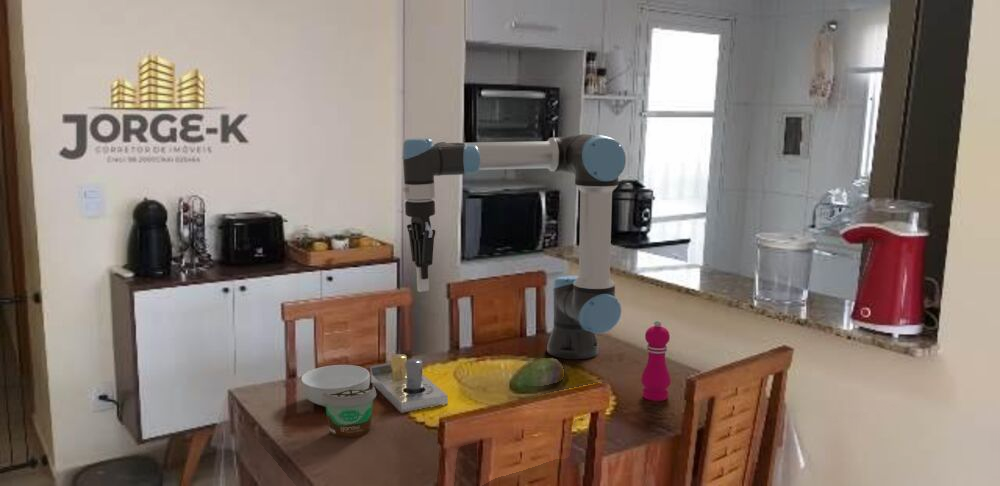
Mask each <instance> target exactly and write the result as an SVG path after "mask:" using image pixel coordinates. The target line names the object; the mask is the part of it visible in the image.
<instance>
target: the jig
mask: <svg viewBox="0 0 1000 486" xmlns="http://www.w3.org/2000/svg"><path fill="white" fill-rule="evenodd" d="M407 357H408V356H407V355H406V354H401V353H400V354H399V353H396V354H392V355H391V358H390V359H391V362H388V363H382V364H381V363H380V364H375V365H370V368H369V369H370V371H369V375H370V384H371V385H372V386H373V385H374V387H375V389H377V390H378V391H379V392H380V394H382V395H383V396H384V398H386V399H387V400H388V401H389V402H390V403H391V404H392V406H394V407H395V408H396V409H397V410H398V412H400V413H401V414H402V413H409V411H410V412H413V411H412V410H415V411H418V410H417V409H420V408H426V407H431V406H436V405H442V406H444V405H443V404H448V402H449V401H448V394H447V393H446V392H445V391H444V390H443V389H441V388H440V387H439V386H438V385H436V384H435V383H433V382H432V381H431V380H430V379H429V378H428V377H426V376H425V375H424V374H422V393H417V394H409V393H406V361H407V360H408V359H407ZM431 408H432V407H431ZM426 409H427V408H426ZM420 410H421V409H420Z"/></svg>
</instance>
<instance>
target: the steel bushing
mask: <svg viewBox="0 0 1000 486" xmlns="http://www.w3.org/2000/svg"><path fill="white" fill-rule="evenodd" d="M422 375H423V360H422V359H420V358H409V359H407V361H406V393H409V394H417V393H422Z"/></svg>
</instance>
